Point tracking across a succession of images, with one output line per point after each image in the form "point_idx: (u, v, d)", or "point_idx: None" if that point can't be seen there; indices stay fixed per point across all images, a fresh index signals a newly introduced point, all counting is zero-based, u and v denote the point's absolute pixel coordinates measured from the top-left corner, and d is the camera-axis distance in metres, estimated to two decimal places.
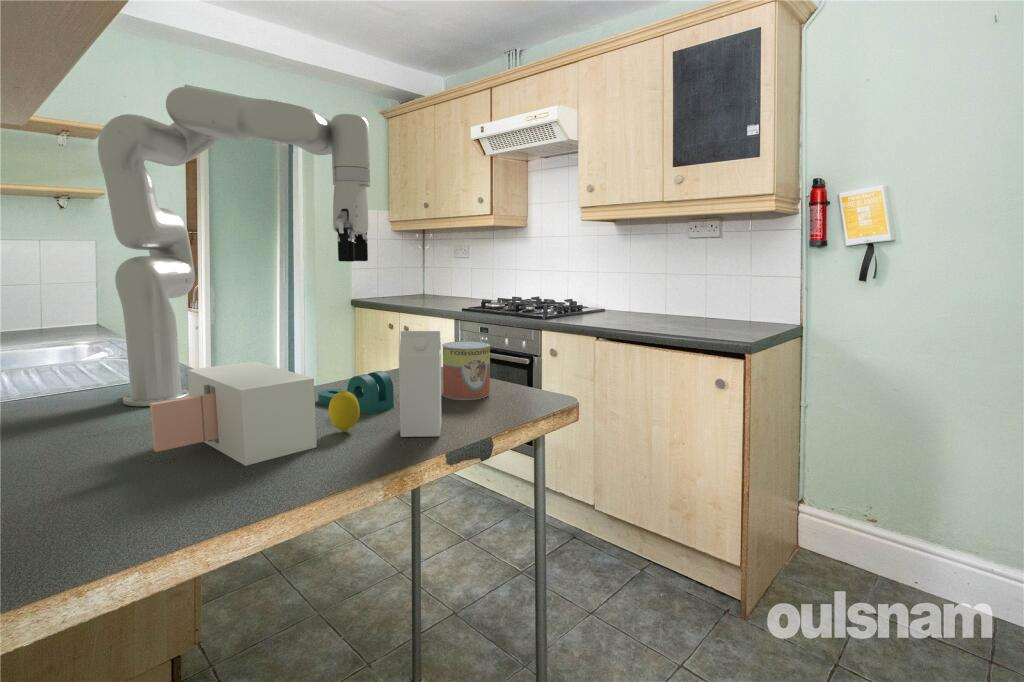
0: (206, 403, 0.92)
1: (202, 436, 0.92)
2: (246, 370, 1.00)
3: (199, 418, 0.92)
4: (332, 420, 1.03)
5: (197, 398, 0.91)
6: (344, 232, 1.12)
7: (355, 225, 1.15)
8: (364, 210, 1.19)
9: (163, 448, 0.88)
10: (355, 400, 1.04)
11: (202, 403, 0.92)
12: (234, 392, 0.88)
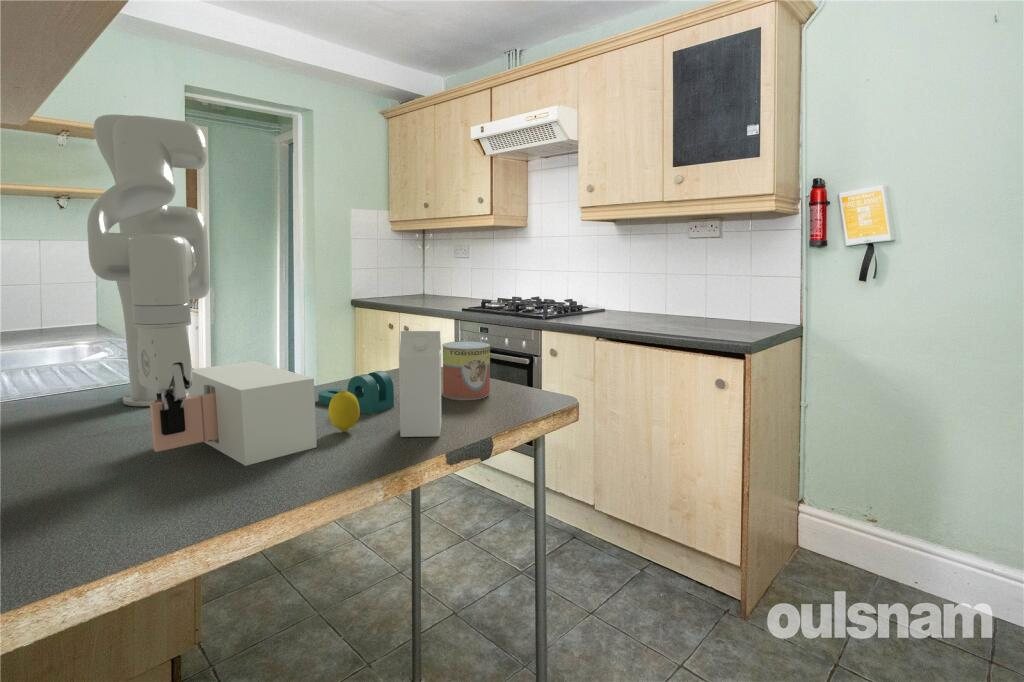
0: (206, 403, 0.92)
1: (202, 436, 0.92)
2: (246, 370, 1.00)
3: (199, 418, 0.92)
4: (332, 420, 1.03)
5: (197, 398, 0.91)
6: (180, 400, 0.87)
7: (191, 381, 0.87)
8: None
9: (163, 448, 0.88)
10: (355, 400, 1.04)
11: (202, 403, 0.92)
12: (234, 392, 0.88)
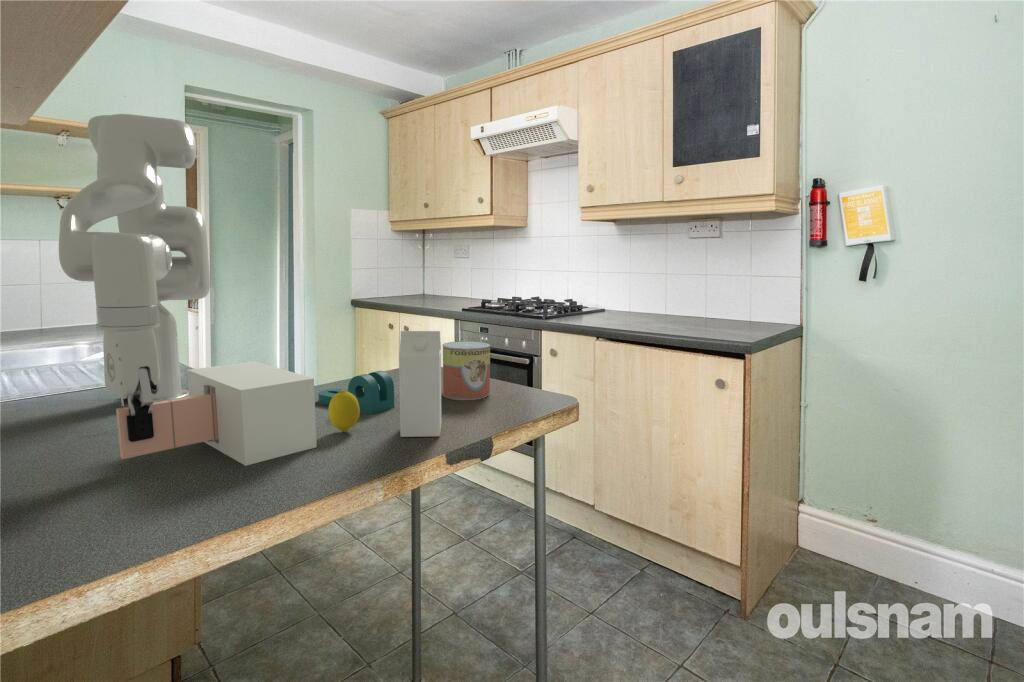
0: (176, 408, 0.89)
1: (172, 442, 0.89)
2: (246, 370, 1.00)
3: (169, 424, 0.89)
4: (332, 420, 1.03)
5: (167, 403, 0.88)
6: (147, 406, 0.84)
7: (159, 386, 0.83)
8: None
9: (130, 456, 0.85)
10: (355, 400, 1.04)
11: (172, 408, 0.89)
12: (234, 392, 0.88)
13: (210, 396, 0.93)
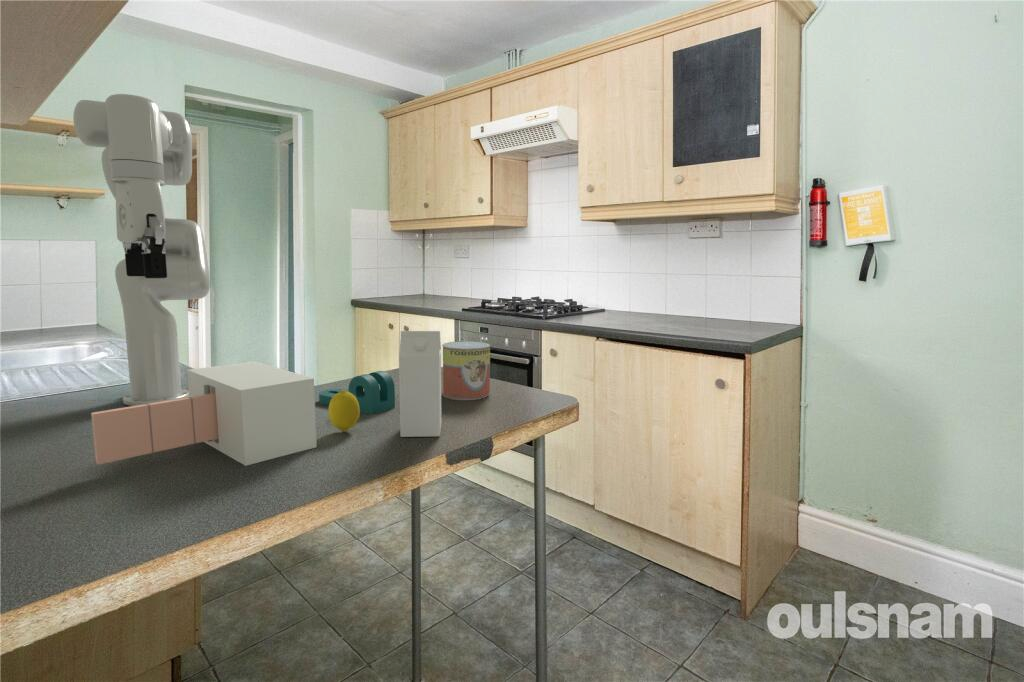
0: (154, 411, 0.87)
1: (150, 447, 0.87)
2: (246, 370, 1.00)
3: (147, 428, 0.86)
4: (332, 420, 1.03)
5: (144, 407, 0.86)
6: (162, 243, 0.92)
7: (164, 234, 0.95)
8: None
9: (106, 461, 0.83)
10: (355, 400, 1.04)
11: (150, 412, 0.86)
12: (234, 392, 0.88)
13: (190, 399, 0.90)
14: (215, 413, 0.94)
